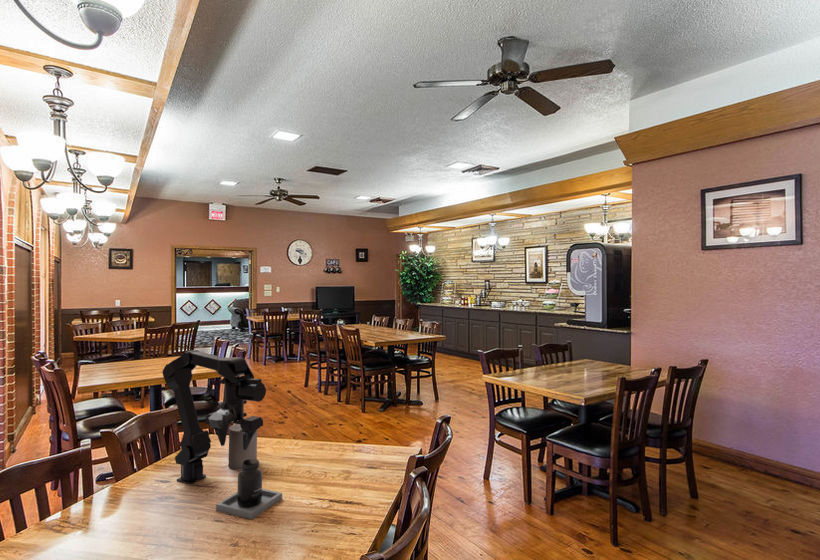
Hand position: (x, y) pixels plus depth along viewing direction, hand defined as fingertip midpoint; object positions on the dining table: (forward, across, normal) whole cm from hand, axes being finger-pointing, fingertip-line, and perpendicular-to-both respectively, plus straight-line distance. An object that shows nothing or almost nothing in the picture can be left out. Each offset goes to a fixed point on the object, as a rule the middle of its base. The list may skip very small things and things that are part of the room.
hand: (233, 447), depth 142 cm
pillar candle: (+13, -11, +16) cm, 23 cm away
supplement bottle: (+13, +12, -6) cm, 18 cm away
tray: (+13, +12, -6) cm, 19 cm away
